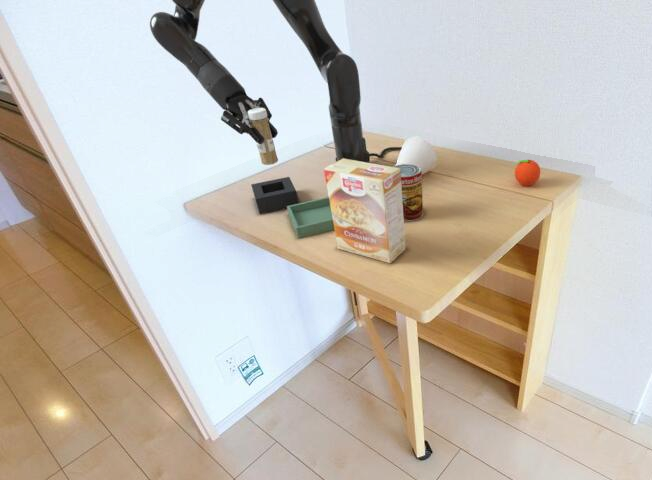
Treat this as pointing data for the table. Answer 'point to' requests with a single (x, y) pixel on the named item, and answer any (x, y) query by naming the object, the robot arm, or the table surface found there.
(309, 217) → the tray
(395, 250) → the coffeecake box
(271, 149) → the spice jar
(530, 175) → the clementine
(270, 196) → the holder
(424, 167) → the rocket engine
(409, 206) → the canned food
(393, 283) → the table surface
